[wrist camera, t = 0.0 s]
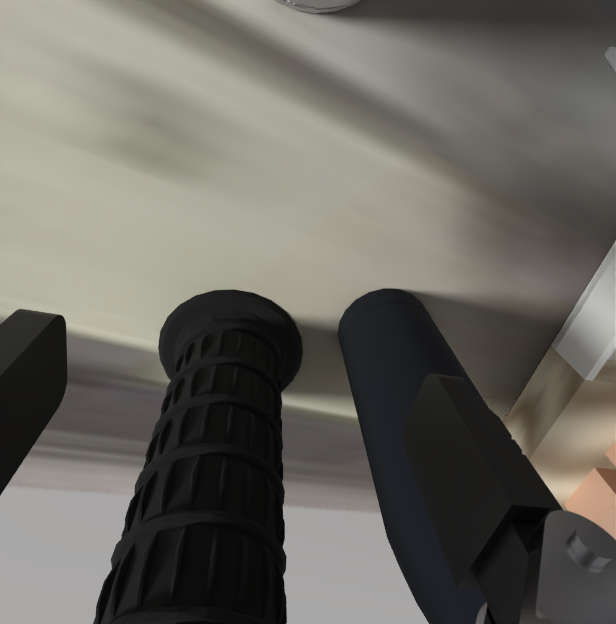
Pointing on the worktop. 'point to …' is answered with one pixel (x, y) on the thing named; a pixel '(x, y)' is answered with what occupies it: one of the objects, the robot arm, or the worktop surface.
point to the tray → (592, 323)
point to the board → (565, 423)
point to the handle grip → (211, 473)
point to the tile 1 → (596, 499)
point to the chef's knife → (611, 57)
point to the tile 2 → (612, 453)
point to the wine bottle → (389, 436)
